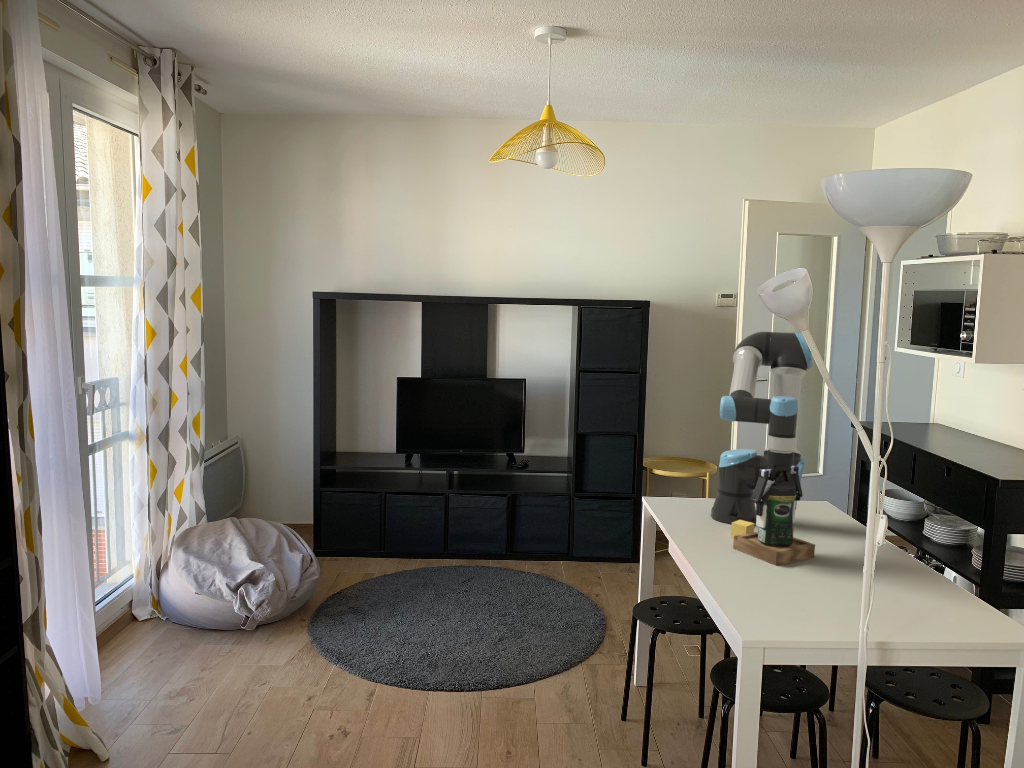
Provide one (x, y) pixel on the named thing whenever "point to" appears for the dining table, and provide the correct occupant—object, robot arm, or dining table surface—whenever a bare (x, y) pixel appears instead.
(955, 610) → the dining table surface
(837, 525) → the dining table surface
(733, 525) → the mustard cube
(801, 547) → the walnut tray
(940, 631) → the dining table surface
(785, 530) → the coffee jar
